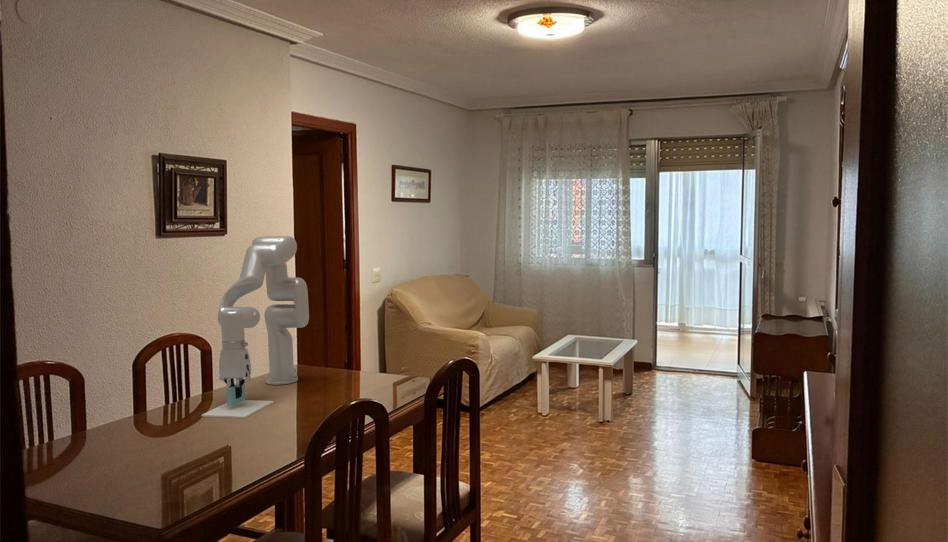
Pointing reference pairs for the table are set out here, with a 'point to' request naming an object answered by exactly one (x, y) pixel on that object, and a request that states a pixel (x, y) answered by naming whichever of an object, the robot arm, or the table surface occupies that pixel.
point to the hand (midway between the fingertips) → (235, 397)
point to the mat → (238, 409)
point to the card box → (234, 396)
